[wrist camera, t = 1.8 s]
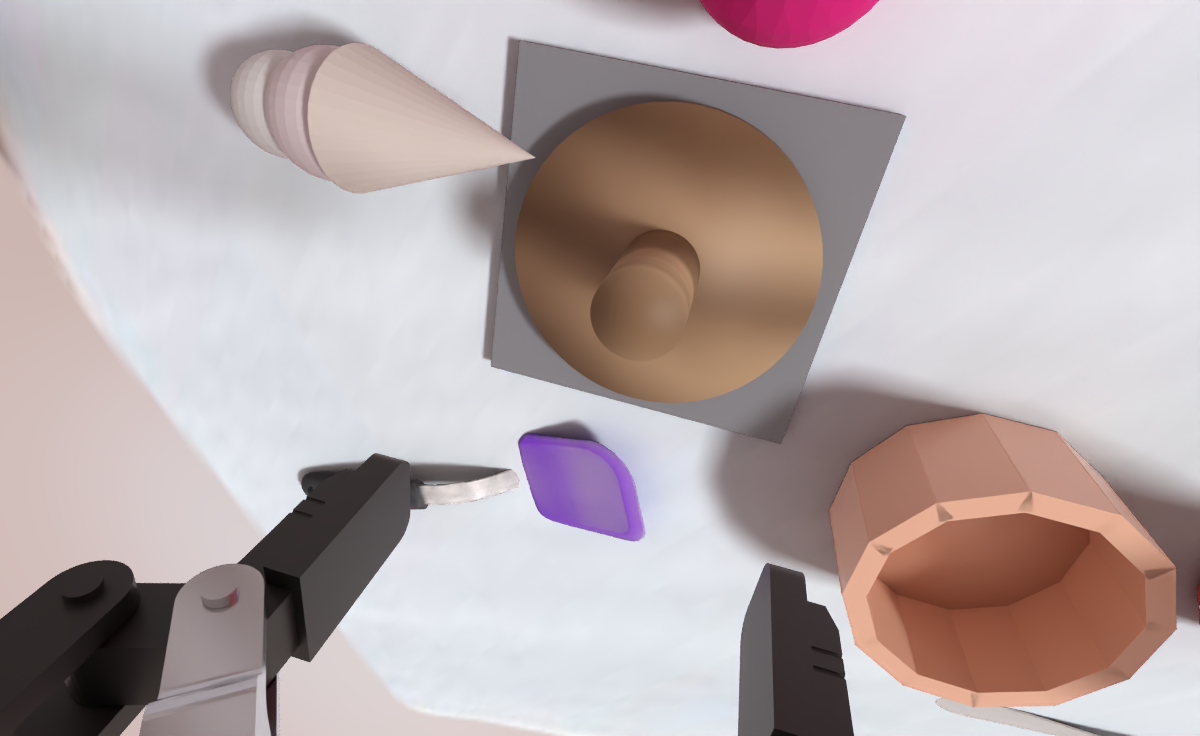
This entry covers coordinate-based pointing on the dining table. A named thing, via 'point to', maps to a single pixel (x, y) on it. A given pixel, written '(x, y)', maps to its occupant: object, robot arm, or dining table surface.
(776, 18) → the pepper mill
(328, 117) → the ice cream cone
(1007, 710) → the fork
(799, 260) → the lid
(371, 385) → the dining table surface
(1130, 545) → the bowl
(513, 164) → the mat
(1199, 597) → the smoothie
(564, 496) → the spatula
